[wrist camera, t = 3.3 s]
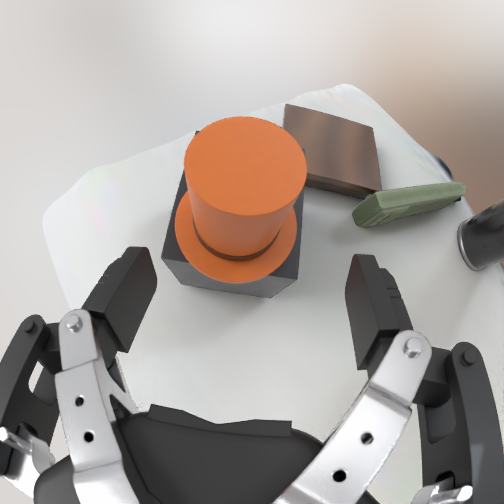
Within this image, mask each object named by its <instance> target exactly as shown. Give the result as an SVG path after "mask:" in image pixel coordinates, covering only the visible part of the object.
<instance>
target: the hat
mask: <svg viewBox="0 0 504 504" xmlns="http://www.w3.org/2000/svg"><path fill="white" fill-rule="evenodd" d="M184 171H185V177H186V182H187V187H188V191H187V192H186V193H185V195H184V196H183V198H182V199H181V201H180V203H179V206H178V209H177V212H176V217H175V232H176V237H177V241H178V244H179V246H180V249H181V251H182V253H183V254H184V256H185V258H186V259H187V260H188V261H189V263H190V264H191V265H192V266H193V267H194V268H195V269H197V270H198V271H199V272H201V273H202V274H204V275H206V276H207V277H209V278H211V279H214V280H217V281H220V282H225V283H233V284H240V283H249V282H253V281H256V280H259V279H262V278H264V277H266V276H268V275H269V274H271V273H272V272H274V271H275V270H276V269H277V268H278V267H280V266H281V264H282V263H283V262H284V261H285V260H286V259H287V257H288V255H289V254H290V252H291V250H292V248H293V246H294V243H295V239H296V233H297V221H296V215H295V211H294V208H293V205H294V203H295V201H296V200H297V198H298V196H299V194H300V193H301V191H302V189H303V187H304V185H305V181H306V177H307V163H306V158H305V156H304V153H303V151H302V149H301V147H300V145H299V144H298V143H297V141H296V140H295V139H294V138H293V137H292V136H291V135H290V134H289V133H288V132H287V131H285V130H284V129H282V128H281V127H279V126H277V125H276V124H274V123H271V122H269V121H266V120H263V119H259V118H254V117H231V118H225V119H222V120H219V121H216V122H214V123H212V124H210V125H208V126H206V127H205V128H203V129H202V130H201V131H200V132H199V133H198V134H196V136H195V137H194V138H193V139H192V141H191V142H190V144H189V146H188V148H187V150H186V154H185V158H184Z"/></svg>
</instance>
